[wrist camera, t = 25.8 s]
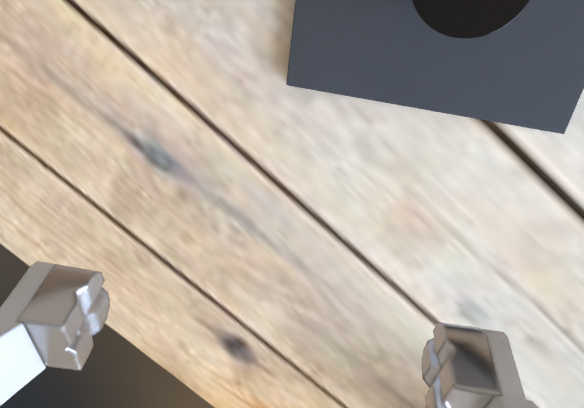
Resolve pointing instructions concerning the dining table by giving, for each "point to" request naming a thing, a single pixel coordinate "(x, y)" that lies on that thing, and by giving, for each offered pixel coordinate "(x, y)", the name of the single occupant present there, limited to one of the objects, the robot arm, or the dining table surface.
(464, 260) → the dining table surface
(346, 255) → the dining table surface
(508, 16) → the black canister with knob
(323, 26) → the mat
